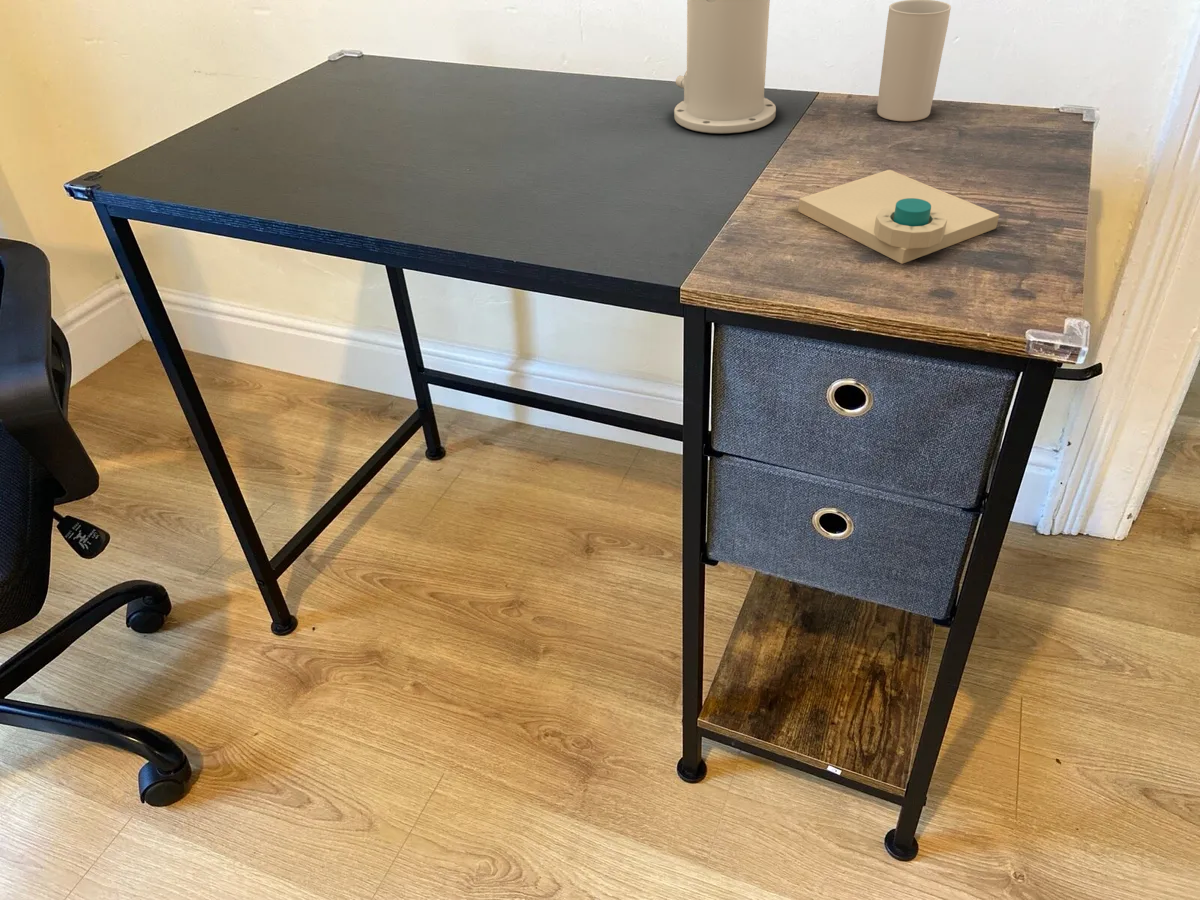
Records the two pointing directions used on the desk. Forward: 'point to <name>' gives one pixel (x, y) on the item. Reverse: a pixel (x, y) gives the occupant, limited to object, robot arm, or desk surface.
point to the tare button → (912, 212)
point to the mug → (912, 58)
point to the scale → (871, 212)
